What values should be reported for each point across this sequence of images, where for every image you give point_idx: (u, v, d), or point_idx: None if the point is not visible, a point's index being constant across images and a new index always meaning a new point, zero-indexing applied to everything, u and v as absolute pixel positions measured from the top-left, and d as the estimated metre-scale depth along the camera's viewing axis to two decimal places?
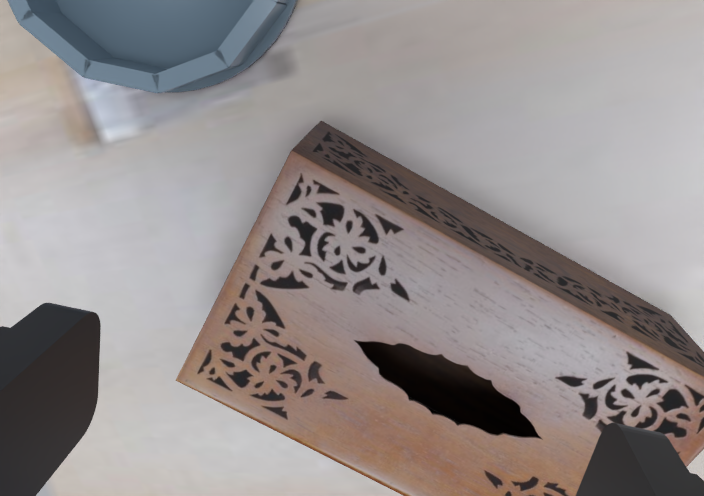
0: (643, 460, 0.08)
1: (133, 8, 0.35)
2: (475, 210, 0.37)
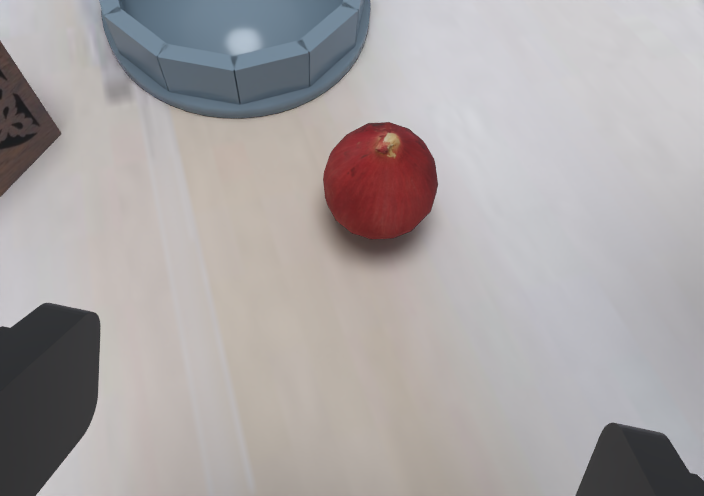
0: (643, 460, 0.08)
1: None
2: None
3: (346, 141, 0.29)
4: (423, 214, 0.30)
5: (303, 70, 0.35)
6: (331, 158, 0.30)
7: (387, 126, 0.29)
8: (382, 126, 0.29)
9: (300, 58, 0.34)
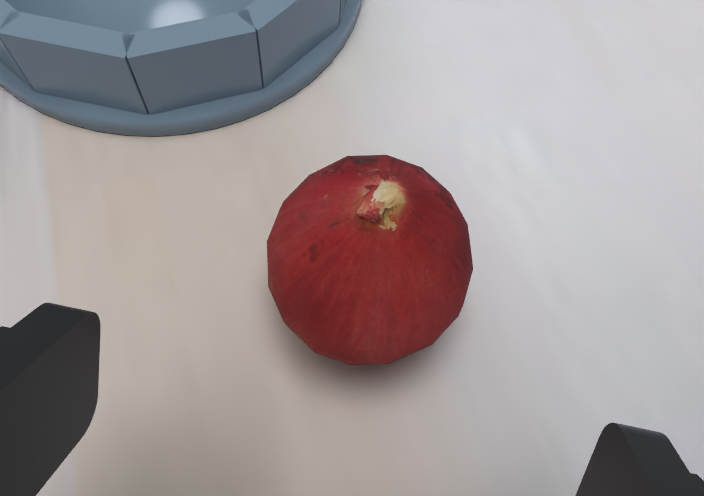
0: (643, 460, 0.08)
1: None
2: None
3: (305, 190, 0.16)
4: (445, 325, 0.16)
5: (250, 61, 0.21)
6: (278, 220, 0.16)
7: (383, 165, 0.15)
8: (371, 164, 0.15)
9: (242, 40, 0.20)
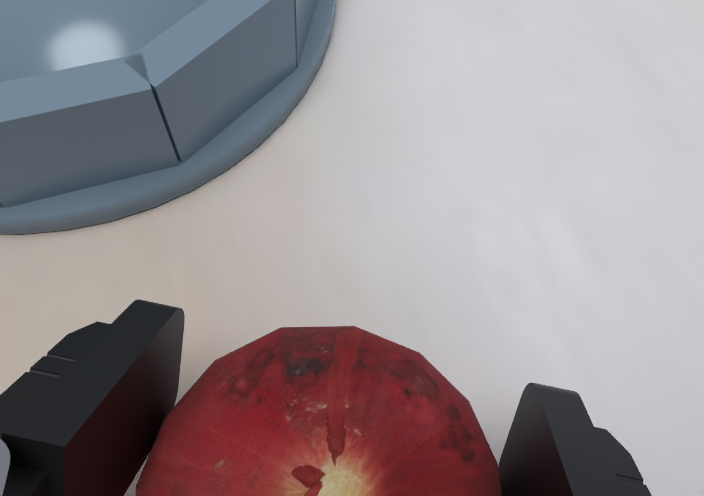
0: (550, 413, 0.09)
1: None
2: None
3: (191, 425, 0.08)
4: None
5: (151, 130, 0.14)
6: (148, 465, 0.09)
7: (337, 392, 0.08)
8: (315, 387, 0.08)
9: (131, 103, 0.13)
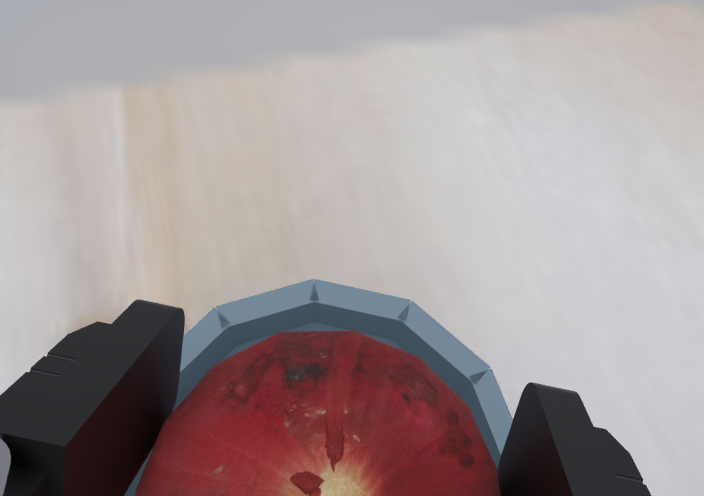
0: (550, 413, 0.09)
1: None
2: None
3: (189, 431, 0.08)
4: None
5: None
6: (147, 470, 0.09)
7: (336, 398, 0.08)
8: (315, 393, 0.08)
9: None
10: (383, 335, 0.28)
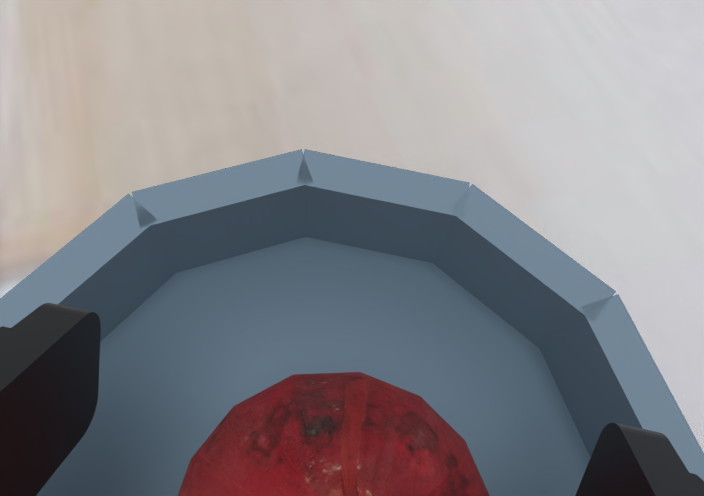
0: (643, 460, 0.08)
1: (164, 437, 0.15)
2: None
3: (218, 479, 0.09)
4: None
5: None
6: None
7: (350, 454, 0.09)
8: (331, 448, 0.09)
9: None
10: (418, 255, 0.17)
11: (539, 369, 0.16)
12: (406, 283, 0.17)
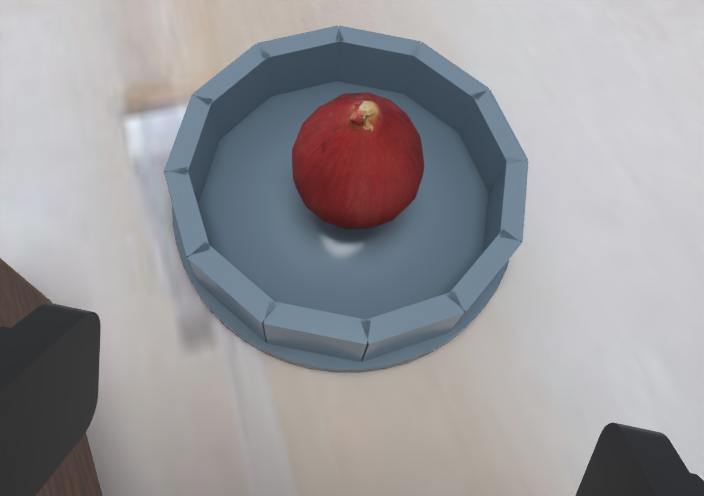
0: (643, 460, 0.08)
1: (271, 167, 0.30)
2: None
3: (317, 113, 0.25)
4: (407, 200, 0.26)
5: (450, 324, 0.26)
6: (300, 133, 0.25)
7: (365, 95, 0.24)
8: (358, 95, 0.24)
9: (452, 318, 0.25)
10: (396, 88, 0.33)
11: (458, 142, 0.32)
12: None
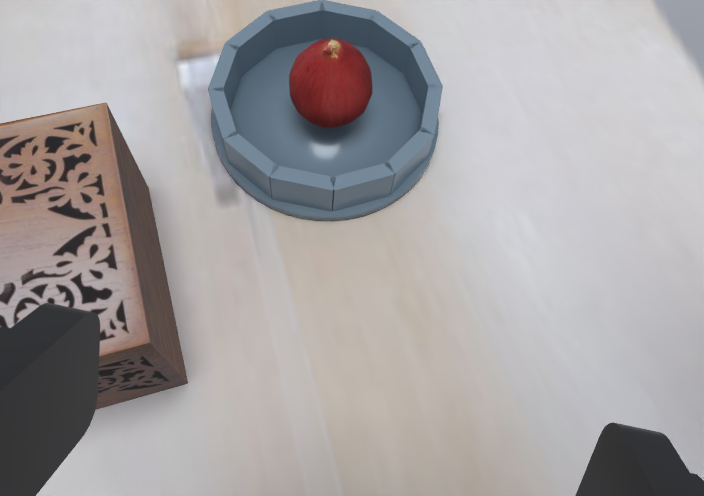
0: (643, 460, 0.08)
1: (276, 93, 0.46)
2: None
3: (304, 50, 0.40)
4: (360, 106, 0.41)
5: (387, 185, 0.41)
6: (294, 63, 0.41)
7: (334, 38, 0.40)
8: (330, 39, 0.40)
9: (387, 178, 0.40)
10: (362, 43, 0.48)
11: (403, 79, 0.47)
12: None
